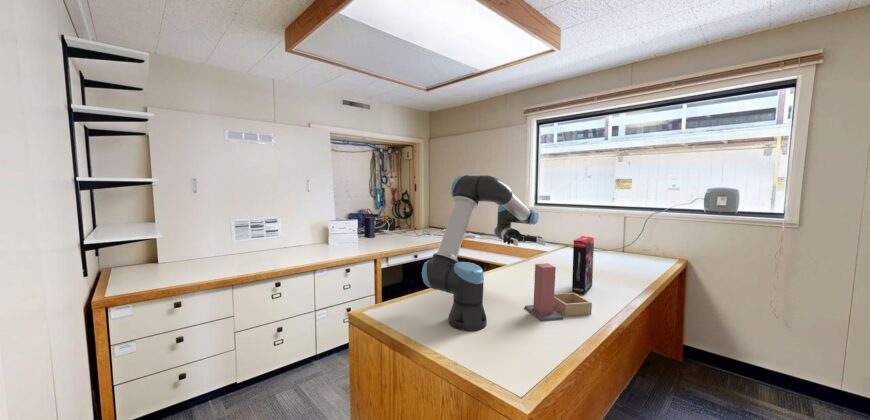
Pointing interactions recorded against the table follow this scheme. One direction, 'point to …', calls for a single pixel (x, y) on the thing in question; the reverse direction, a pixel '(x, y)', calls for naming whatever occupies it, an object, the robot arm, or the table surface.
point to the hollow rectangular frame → (571, 304)
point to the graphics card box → (582, 264)
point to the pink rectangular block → (544, 288)
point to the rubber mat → (544, 316)
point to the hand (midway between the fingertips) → (530, 242)
